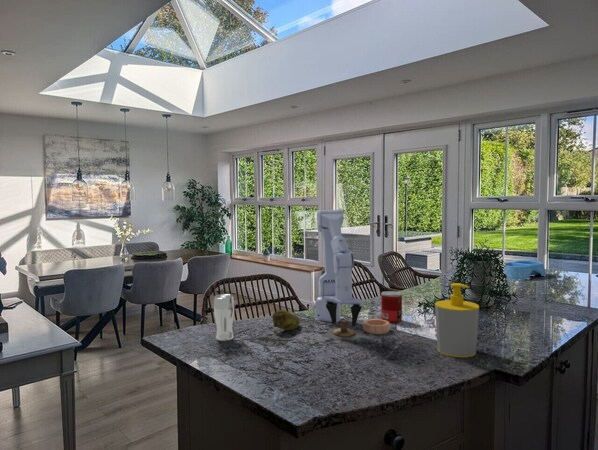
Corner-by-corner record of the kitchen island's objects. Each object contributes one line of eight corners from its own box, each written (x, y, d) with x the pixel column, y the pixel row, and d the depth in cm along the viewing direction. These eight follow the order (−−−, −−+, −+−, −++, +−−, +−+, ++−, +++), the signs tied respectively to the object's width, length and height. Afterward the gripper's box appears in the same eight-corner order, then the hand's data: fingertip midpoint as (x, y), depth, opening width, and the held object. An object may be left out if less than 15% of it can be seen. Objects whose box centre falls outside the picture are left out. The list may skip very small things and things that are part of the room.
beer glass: (238, 336, 153) (237, 294, 152) (228, 342, 147) (227, 298, 146) (220, 334, 155) (219, 293, 155) (210, 340, 149) (209, 297, 148)
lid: (330, 335, 152) (329, 322, 151) (338, 329, 158) (338, 317, 158) (350, 338, 148) (350, 325, 148) (357, 331, 155) (357, 319, 155)
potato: (307, 329, 160) (307, 308, 160) (279, 336, 153) (279, 313, 152) (294, 324, 167) (294, 304, 167) (266, 330, 159) (266, 309, 159)
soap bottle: (474, 361, 126) (475, 289, 125) (429, 353, 133) (430, 285, 132) (482, 348, 137) (482, 282, 136) (440, 341, 144) (440, 278, 143)
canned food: (402, 323, 166) (402, 295, 165) (381, 322, 168) (381, 294, 167) (401, 318, 174) (401, 291, 173) (381, 317, 175) (381, 290, 175)
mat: (321, 337, 151) (321, 335, 151) (335, 328, 161) (335, 326, 161) (353, 341, 145) (353, 340, 145) (365, 332, 156) (365, 331, 156)
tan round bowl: (360, 332, 155) (360, 324, 155) (368, 326, 163) (368, 317, 163) (385, 336, 151) (384, 327, 151) (392, 329, 159) (392, 320, 159)
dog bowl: (519, 281, 248) (519, 267, 248) (490, 277, 264) (490, 263, 264) (552, 276, 265) (552, 262, 265) (523, 272, 281) (523, 259, 281)
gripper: (320, 286, 152) (320, 324, 153) (359, 289, 145) (359, 329, 146) (328, 283, 159) (328, 319, 159) (366, 286, 152) (366, 324, 152)
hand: (344, 324), depth 153 cm, fingers open, 7 cm apart
